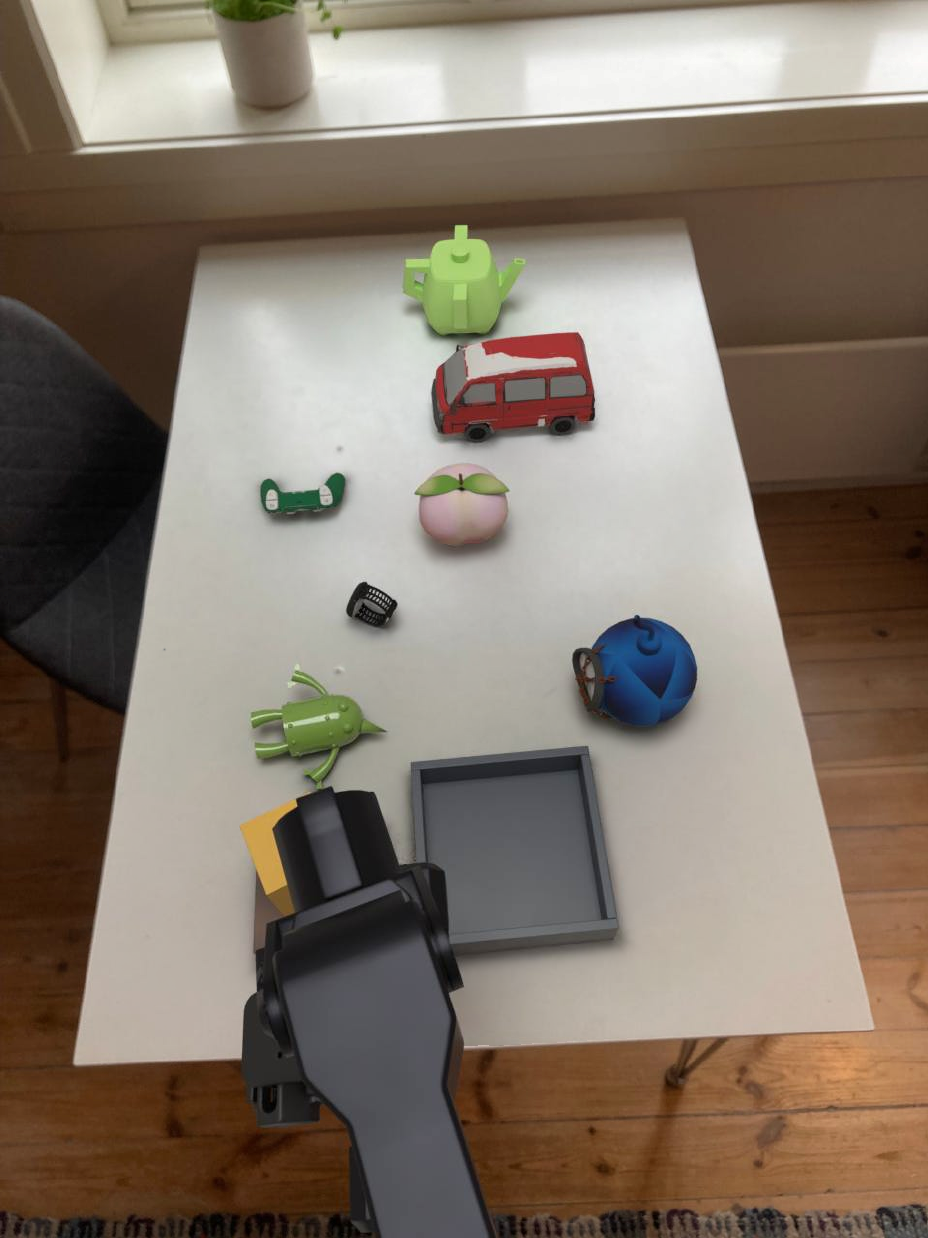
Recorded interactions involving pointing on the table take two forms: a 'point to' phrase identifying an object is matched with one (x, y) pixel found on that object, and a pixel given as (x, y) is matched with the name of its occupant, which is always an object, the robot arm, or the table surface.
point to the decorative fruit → (462, 504)
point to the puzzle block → (269, 855)
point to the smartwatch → (358, 602)
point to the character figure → (314, 725)
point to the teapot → (460, 284)
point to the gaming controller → (302, 496)
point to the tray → (516, 848)
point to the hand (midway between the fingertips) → (414, 1049)
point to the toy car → (514, 386)
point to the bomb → (637, 672)
